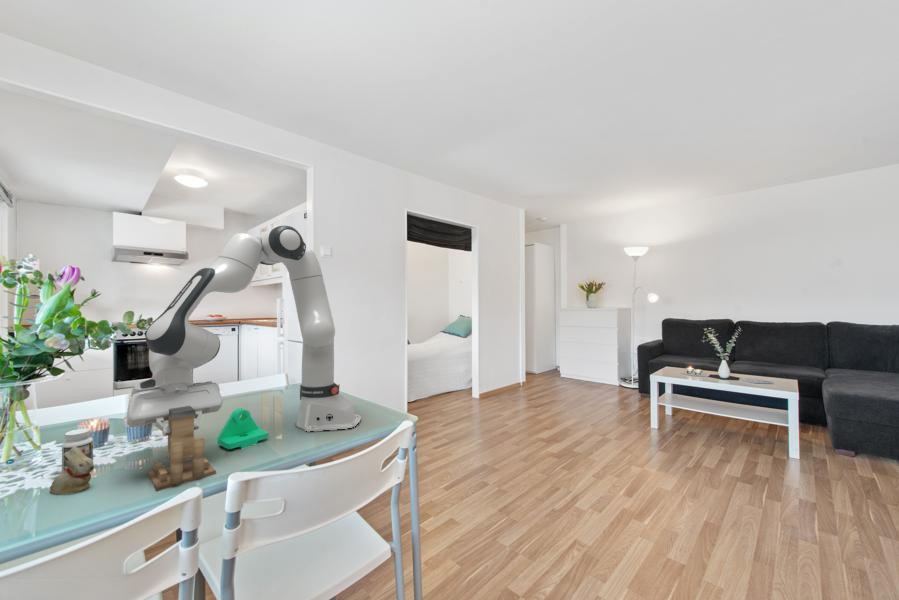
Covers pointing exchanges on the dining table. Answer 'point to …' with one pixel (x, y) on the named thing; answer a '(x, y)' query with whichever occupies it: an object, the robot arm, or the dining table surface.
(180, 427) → the brown tall rectangular block
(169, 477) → the wooden twin towers
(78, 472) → the chocolate bunny
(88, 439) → the pill bottle
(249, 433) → the camera mount
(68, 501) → the dining table surface
